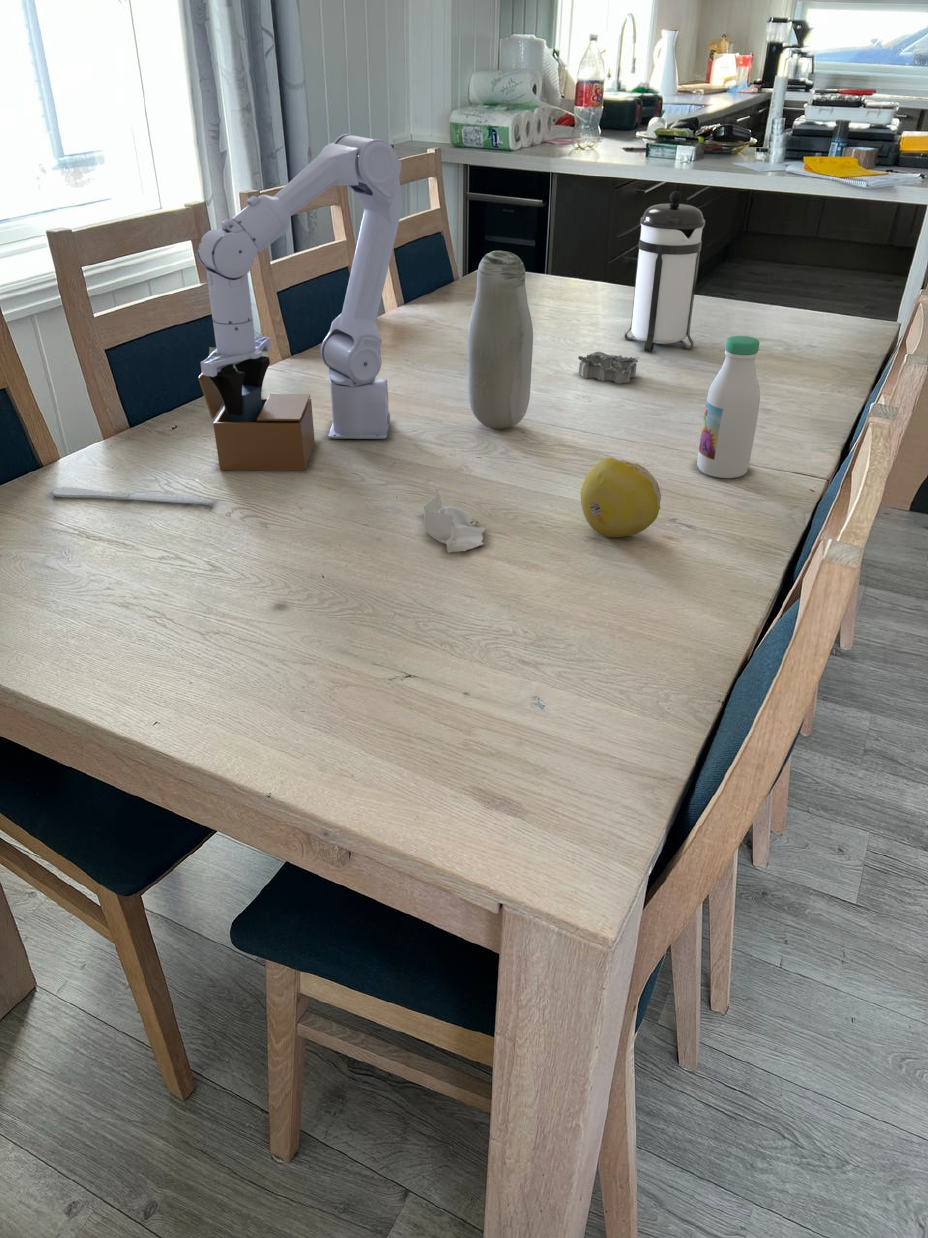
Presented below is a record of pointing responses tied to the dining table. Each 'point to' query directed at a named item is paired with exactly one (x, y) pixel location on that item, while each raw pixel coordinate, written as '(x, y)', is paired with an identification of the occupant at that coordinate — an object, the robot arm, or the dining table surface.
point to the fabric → (451, 526)
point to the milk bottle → (731, 412)
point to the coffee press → (666, 273)
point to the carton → (268, 436)
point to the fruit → (619, 498)
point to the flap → (211, 395)
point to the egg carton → (608, 367)
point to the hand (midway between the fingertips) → (244, 409)
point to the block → (248, 405)
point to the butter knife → (127, 496)
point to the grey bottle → (500, 342)
